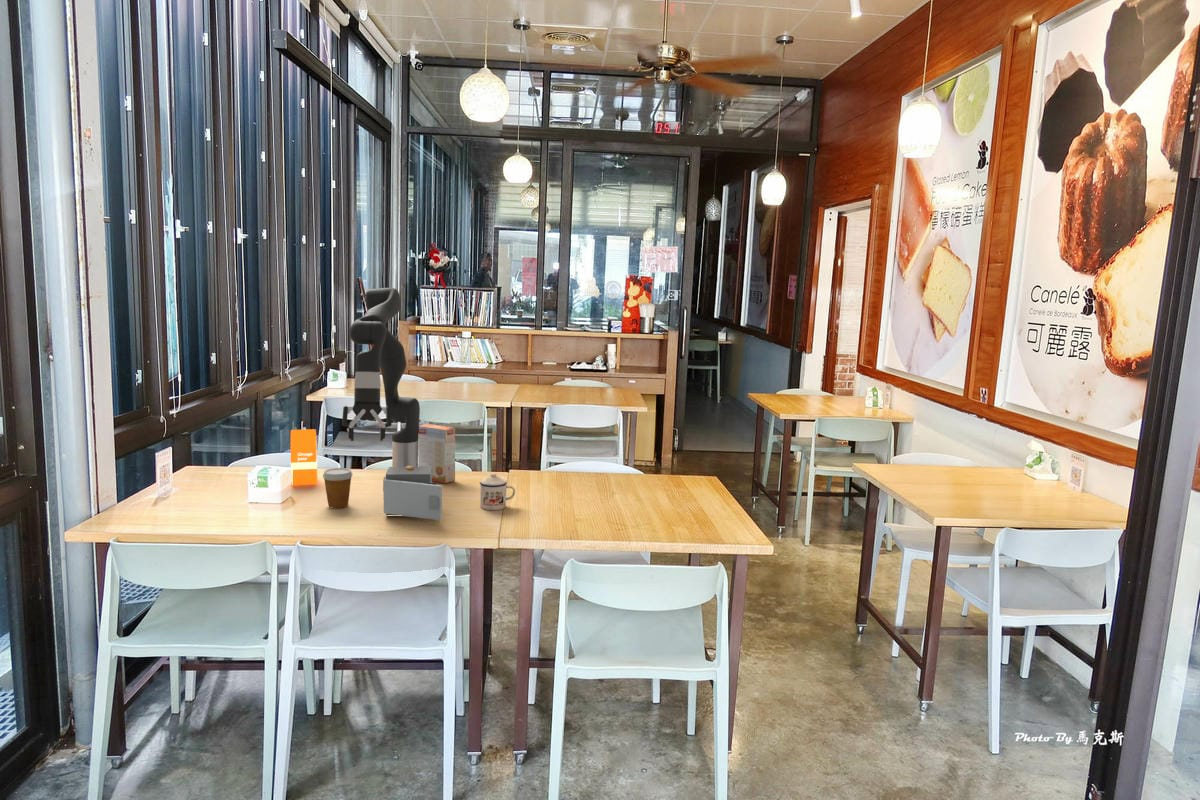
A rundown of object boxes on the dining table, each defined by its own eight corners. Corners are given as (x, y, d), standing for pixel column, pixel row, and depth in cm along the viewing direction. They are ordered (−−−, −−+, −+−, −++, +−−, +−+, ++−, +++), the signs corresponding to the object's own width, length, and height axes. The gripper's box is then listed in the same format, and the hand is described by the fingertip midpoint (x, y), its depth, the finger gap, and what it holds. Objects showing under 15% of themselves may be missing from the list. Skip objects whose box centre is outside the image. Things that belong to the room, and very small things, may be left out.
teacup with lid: (480, 511, 263) (480, 477, 261) (479, 503, 272) (479, 470, 270) (516, 510, 265) (516, 476, 263) (513, 502, 274) (514, 470, 272)
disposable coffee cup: (352, 509, 261) (352, 474, 259) (322, 510, 258) (321, 475, 256) (353, 501, 270) (352, 467, 268) (324, 502, 267) (323, 468, 265)
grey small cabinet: (385, 507, 263) (385, 464, 261) (437, 506, 266) (437, 464, 264) (382, 516, 254) (381, 472, 251) (436, 515, 256) (436, 471, 254)
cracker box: (455, 481, 300) (456, 427, 297) (444, 484, 295) (444, 429, 292) (429, 475, 307) (428, 422, 304) (417, 478, 302) (417, 425, 299)
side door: (385, 512, 253) (385, 479, 252) (441, 519, 248) (441, 485, 246) (382, 513, 252) (381, 480, 250) (438, 521, 246) (438, 487, 245)
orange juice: (292, 480, 294) (291, 428, 291) (317, 479, 296) (316, 427, 293) (291, 485, 286) (289, 432, 283) (317, 484, 289) (315, 431, 286)
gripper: (389, 387, 244) (389, 440, 244) (341, 386, 238) (340, 440, 238) (393, 387, 237) (392, 441, 237) (343, 386, 231) (342, 441, 231)
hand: (366, 440), depth 237 cm, fingers open, 8 cm apart
